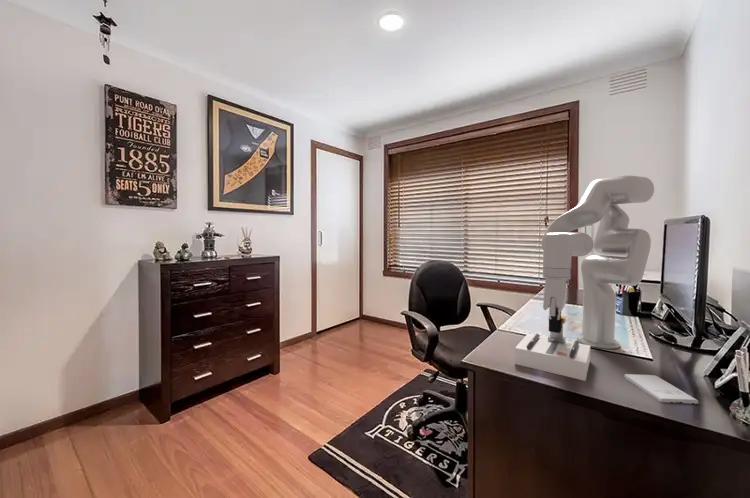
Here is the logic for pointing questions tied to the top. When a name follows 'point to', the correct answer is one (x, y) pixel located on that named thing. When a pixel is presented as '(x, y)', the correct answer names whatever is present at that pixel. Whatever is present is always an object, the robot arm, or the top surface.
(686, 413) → the top surface
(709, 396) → the top surface
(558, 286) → the robot arm
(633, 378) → the external hard drive
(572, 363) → the switch box
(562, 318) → the switch handle
